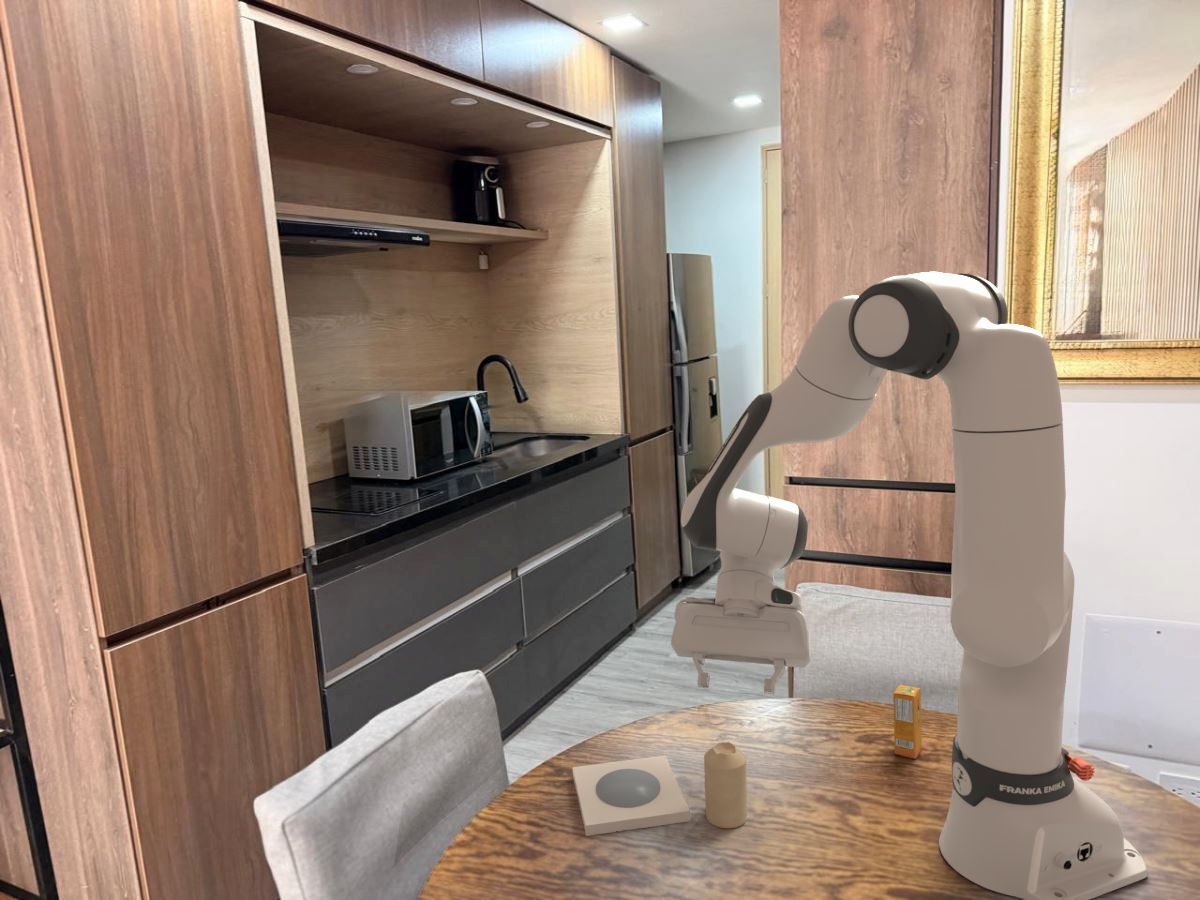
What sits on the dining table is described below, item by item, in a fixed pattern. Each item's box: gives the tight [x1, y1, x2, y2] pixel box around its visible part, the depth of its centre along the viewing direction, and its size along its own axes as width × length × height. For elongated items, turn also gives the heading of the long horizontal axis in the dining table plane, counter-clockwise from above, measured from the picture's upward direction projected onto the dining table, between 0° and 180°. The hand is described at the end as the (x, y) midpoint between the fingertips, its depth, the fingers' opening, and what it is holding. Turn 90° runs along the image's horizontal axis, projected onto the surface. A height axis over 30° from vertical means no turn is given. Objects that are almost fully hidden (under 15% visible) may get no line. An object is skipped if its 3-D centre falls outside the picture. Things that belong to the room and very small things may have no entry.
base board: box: [572, 754, 691, 837], centre depth 113 cm, size 14×14×2 cm
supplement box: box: [892, 684, 923, 760], centre depth 121 cm, size 3×3×10 cm
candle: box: [703, 741, 748, 829], centre depth 108 cm, size 6×6×10 cm
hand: (735, 689), depth 116 cm, fingers open, 8 cm apart
